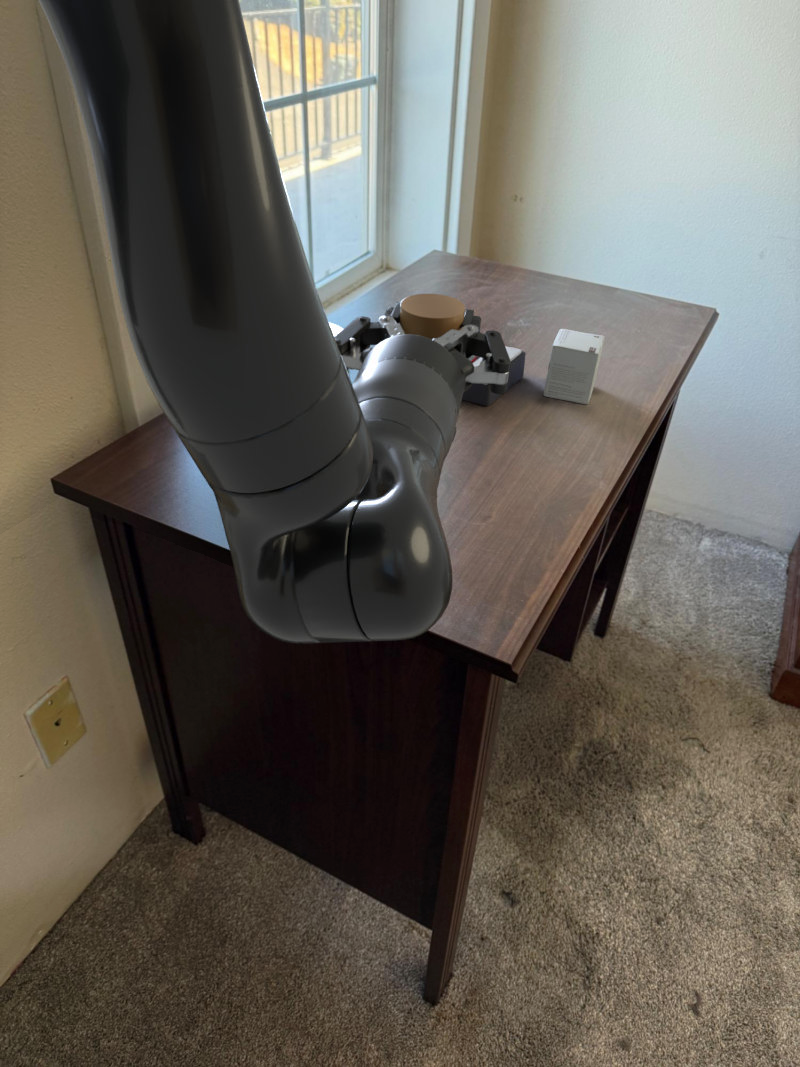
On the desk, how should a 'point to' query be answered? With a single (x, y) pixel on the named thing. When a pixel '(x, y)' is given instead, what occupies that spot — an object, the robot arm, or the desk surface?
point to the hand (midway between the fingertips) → (434, 317)
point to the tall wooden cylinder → (430, 315)
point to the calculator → (481, 391)
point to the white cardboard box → (573, 366)
